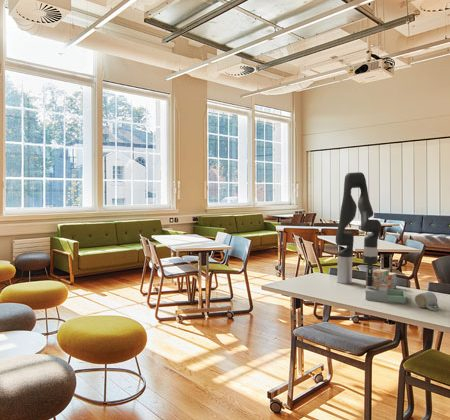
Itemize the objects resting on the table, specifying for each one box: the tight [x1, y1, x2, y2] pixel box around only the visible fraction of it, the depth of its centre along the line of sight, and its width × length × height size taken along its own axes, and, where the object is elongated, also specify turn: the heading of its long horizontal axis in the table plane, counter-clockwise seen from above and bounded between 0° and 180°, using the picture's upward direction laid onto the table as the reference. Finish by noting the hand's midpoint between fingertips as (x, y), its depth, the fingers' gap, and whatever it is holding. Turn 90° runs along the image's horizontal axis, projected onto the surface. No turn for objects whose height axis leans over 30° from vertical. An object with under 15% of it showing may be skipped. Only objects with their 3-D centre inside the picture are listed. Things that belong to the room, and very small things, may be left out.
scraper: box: [365, 275, 377, 289], centre depth 225 cm, size 16×6×5 cm, turn 159°
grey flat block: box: [365, 285, 388, 303], centre depth 224 cm, size 16×11×5 cm
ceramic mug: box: [414, 291, 440, 312], centre depth 204 cm, size 11×8×8 cm
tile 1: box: [379, 287, 387, 292], centre depth 219 cm, size 4×4×2 cm
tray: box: [387, 289, 408, 305], centre depth 220 cm, size 17×10×4 cm, turn 159°
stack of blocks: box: [373, 268, 397, 290], centre depth 243 cm, size 21×6×12 cm, turn 129°
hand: (369, 285), depth 225 cm, fingers closed on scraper, 4 cm apart
